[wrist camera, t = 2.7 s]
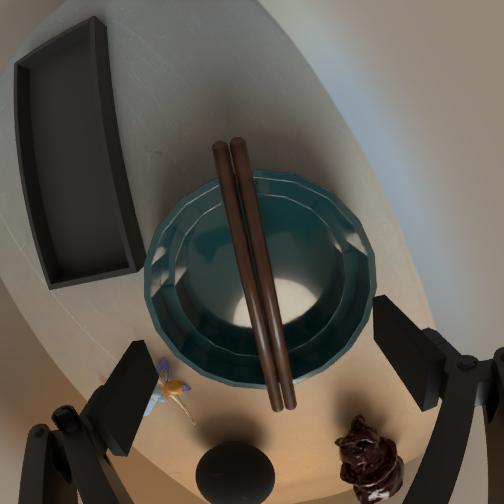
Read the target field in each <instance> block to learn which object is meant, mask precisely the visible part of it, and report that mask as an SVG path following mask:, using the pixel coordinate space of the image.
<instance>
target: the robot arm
mask: <svg viewBox="0 0 504 504" xmlns="http://www.w3.org/2000/svg"><path fill="white" fill-rule="evenodd" d="M372 303H373V329H374V340H375V342H376V343H377V345H378V346H379V348H380V349H381V350H382V352H383V353H384V355H385V356H386V358H387V359H388V361H389V362H390V364H391V365H392V367H393V368H394V370H395V371H396V373H397V374H398V376H399V377H400V379H401V380H402V382H403V383H404V385H405V386H406V388H407V389H408V391H409V392H410V394H411V395H412V397H413V398H414V400H415V402H416V403H417V405H418V406H419V408H420V409H421V411H422V412H424V411H426V410H429V409H431V408H433V407H436V406H437V404H438V399H439V397H440V398H441V399H442V404H441V408H440V411H439V414H438V417H437V421H436V424H435V427H434V430H433V433H432V435H431V438H430V441H429V444H428V446H427V449H426V452H425V454H424V457H423V459H422V462H421V464H420V467H419V469H418V472H417V474H416V476H415V478H414V480H413V483H412V485H411V487H410V489H409V491H408V493H407V495H406V497H405V499H404V501H403V503H402V504H448V502H449V500H450V497H451V494H452V492H453V489H454V486H455V483H456V480H457V477H458V474H459V471H460V467H461V464H462V460H463V457H464V453H465V450H466V446H467V441H468V437H469V433H470V428H471V423H472V418H473V413H474V408H475V407H477V406H482V408H483V416H484V424H485V433H486V444H487V457H488V504H504V347H502V348H499V349H498V350H496V352H495V353H494V357H493V359H489V360H485V361H479V360H478V359H477V358H475V357H474V356H470V355H461V354H460V353H459V352H458V351H457V350H456V349H455V348H454V347H453V346H452V345H451V344H450V343H449V342H447V340H446V339H445V338H443V337H442V336H441V335H440V334H439V333H438V332H437V331H435V330H433V329H431V328H426V329H423V330H420V329H419V328H418V327H417V326H416V325H415V324H414V323H413V322H412V321H411V320H410V319H409V318H408V317H407V316H406V315H405V314H404V313H403V312H402V311H401V310H400V309H399V308H398V307H397V306H396V305H395V304H394V303H393V302H392V301H391V300H390V299H389V298H388V297H387V296H386V295H385V294H384V295H381V296H377V297H373V298H372ZM158 379H159V375H158V373H157V371H156V368H155V366H154V364H153V361H152V359H151V356H150V354H149V352H148V349H147V347H146V344H145V342H144V340H139V341H132V343H131V344H130V346H129V347H128V349H127V350H126V352H125V354H124V355H123V357H122V358H121V360H120V361H119V363H118V364H117V366H116V367H115V369H114V370H113V372H112V374H111V375H110V377H109V378H108V380H107V381H106V383H105V385H101V386H100V387H99V388H98V389H96V390H95V391H94V393H93V394H92V396H91V398H90V399H89V401H88V403H87V404H86V405H85V407H84V409H83V410H82V412H81V413H80V415H78V414H77V412H76V410H75V409H74V407H73V406H70V405H65V406H61V407H60V408H58V409H56V410H55V411H54V412H53V414H52V420H53V422H54V423H55V425H56V426H57V427H58V429H59V430H54V431H51V430H50V429H49V427H48V426H47V425H46V424H38V425H35V426H33V427H32V429H31V430H30V431H29V434H28V438H27V443H26V449H25V454H24V460H23V467H22V474H21V482H20V491H19V503H18V504H78V496H77V489H78V491H79V494H80V497H81V499H82V502H83V504H134V502H133V501H132V499H131V497H130V496H129V494H128V492H127V491H126V489H125V487H124V485H123V484H122V482H121V480H120V478H119V476H118V474H117V473H116V471H115V469H114V467H113V465H112V463H111V461H110V459H109V457H108V456H107V454H106V451H107V449H108V448H109V449H110V451H111V452H112V454H113V455H115V456H125V457H127V456H128V453H129V451H130V448H131V446H132V443H133V441H134V438H135V436H136V433H137V430H138V428H139V425H140V423H141V421H142V418H143V416H144V413H145V411H146V408H147V406H148V403H149V401H150V398H151V396H152V394H153V391H154V389H155V386H156V384H157V382H158Z"/></svg>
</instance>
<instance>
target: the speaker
mask: <svg viewBox="0 0 504 504" xmlns="http://www.w3.org/2000/svg"><path fill="white" fill-rule="evenodd" d="M196 483H197V487H198V489H199V491H200V493H201V494H202V495H203V497H204V498H205V499H206V500H207V501H209V502H210V503H211V504H261V503H262V502H263V501H264V500H265V499H266V498H267V497H268V496H269V495H270V493H271V491H272V489H273V487H274V483H275V472H274V468H273V465H272V463H271V461H270V460H269V458H268V457H267V456H266V455H265V454H264V453H263V452H262V451H260V450H259V449H257V448H256V447H254V446H251V445H249V444H245V443H239V442H230V443H224V444H220V445H218V446H215V447H213V448H212V449H210V450H209V451H207V452H206V453H205V454H204V455H203V457H202V458H201V459H200V461H199V463H198V465H197V468H196Z"/></svg>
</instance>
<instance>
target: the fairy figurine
mask: <svg viewBox="0 0 504 504" xmlns="http://www.w3.org/2000/svg"><path fill="white" fill-rule="evenodd" d="M164 359H165V358H163V359H162V360H164ZM162 360H161V362H160V364H159V365H158V367H157V368H156V371H157V373H158V371H159V370H160V369H161V368H162V367H163V366H164V367H165V366H166V365H167V366H166V367H165V369H166V370H167V369H168V370H167V372H168V375H169V368H168V363H167V360H166V359H165V360H164V361H163V362H162ZM165 361H166V362H165ZM164 362H165V363H166V364H165V363H164ZM161 363H162V364H163V363H164V364H165V365H163V366H162V364H161ZM160 367H161V368H160ZM159 368H160V369H159ZM157 369H158V370H157ZM162 369H163V368H162ZM160 371H161V370H160ZM163 371H164V370H163ZM161 373H162V372H161ZM158 375H159V373H158ZM163 376H164V375H163ZM167 382H168V379H167ZM167 382H166V381H165V380H163V379H162V378H161V376H160V375H159V379H158V383H159V385H158V386H156V387H155V389H154V391H153V394H152V396H151V398H150V401H149V403H148V406H147V408H146V411H145V413H144V416H147V415H148V414H149V413H150V412H151V410H152V409H153V407H154V405H155V404H156V402H157V401H159V402H164V401H165V400H166V399H168V398H169V396H170V397H172V398H173V399H174V400H175V401H176V402H178V403H179V405H180V406H181V407H182V408H183V410H184V411H185V412H186V413H187V415H188V416H189V418H190V420H191V423H192V425H193V424H194V426H195V425H196V423H195V420H194V419H193V418H192V416H191V415H190V413H189V411H188V409H187V408H186V406H185V404H184V403H183V402H182V401H181V400H180V399H179V397H178V396H177V395H176V394H180V393H181V392H182V391H183V390H186V389H187V388H185V389H184V387H186V386H187V385H183V384H182V383H181V382H179V381H177V380H174V381H171V382H169V383H167ZM183 386H184V387H183ZM187 387H188V390H190V389H191V388H190V387H189V386H187ZM144 416H143V417H144Z"/></svg>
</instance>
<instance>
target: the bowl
mask: <svg viewBox="0 0 504 504" xmlns="http://www.w3.org/2000/svg"><path fill="white" fill-rule="evenodd" d="M252 174H253V179H254V184H255V189H256V194H257V198H258V203H259V208H260V213H261V218H262V223H263V228H264V233H265V238H266V243H267V248H268V253H269V258H270V263H271V268H272V273H273V278H274V283H275V289H276V294H277V299H278V304H279V309H280V315H281V320H282V325H283V331H284V336H285V341H286V347H287V352H288V358H289V363H290V368H291V374H292V379H293V384H296V383H299V382H301V381H304V380H306V379H308V378H310V377H312V376H314V375H316V374H318V373H321V372H323V371H325V370H326V369H328V368H329V367H330V366H331V365H332V364H333V363H335V362H336V361H337V360H338V359H339V358H340V357H342V356H343V355H344V354H345V353H346V352H347V351H348V350H349V349H350V348H351V347H352V346H353V344H354V343H355V341H356V340H357V338H358V336H359V335H360V333H361V332H362V330H363V328H364V327H365V325H366V324H367V322H368V320H369V316H370V313H371V309H372V305H373V303H372V298H373V297H375V293H376V289H377V282H376V268H375V256H374V252H373V249H372V247H371V245H370V242H369V240H368V238H367V236H366V233H365V231H364V229H363V227H362V224H361V222H360V221H359V219H358V218H357V217H356V216H355V215H354V214H353V213H352V212H351V211H350V209H349V208H348V207H347V206H346V205H345V204H344V203H343V202H342V201H341V200H340V199H339V198H338V197H337V196H336V195H335V194H334V193H333V192H331V191H329V190H327V189H325V188H323V187H321V186H319V185H317V184H315V183H313V182H311V181H309V180H307V179H305V178H303V177H301V176H299V175H296V174H290V173H282V172H274V171H266V170H258V169H257V170H252ZM234 176H235V181H236V185H237V190H238V195H239V199H240V204H241V209H242V213H243V218H244V223H245V228H246V232H247V237H248V242H249V246H250V251H251V256H252V260H253V265H254V270H255V274H256V279H257V284H258V288H259V293H260V298H261V302H262V307H263V312H264V316H265V321H266V326H267V330H268V335H269V340H270V344H271V349H272V354H273V358H274V363H275V368H276V372H277V377H278V382H279V386H280V387H281V385H280V381H279V376H278V371H277V367H276V362H275V357H274V352H273V348H272V343H271V338H270V334H269V329H268V324H267V319H266V315H265V310H264V305H263V301H262V296H261V291H260V286H259V282H258V277H257V272H256V268H255V263H254V258H253V253H252V249H251V244H250V239H249V235H248V230H247V225H246V221H245V216H244V211H243V206H242V202H241V197H240V192H239V188H238V183H237V178H236V173H235V174H234ZM144 263H145V264H144V297H145V301H146V304H147V307H148V310H149V313H150V316H151V319H152V321H153V324H154V327H155V329H156V331H157V332H158V334H159V335H160V337H161V338H162V339H163V341H164V342H165V343H166V345H167V346H168V347H169V348H170V350H171V351H172V352H173V354H174V355H175V356H176V357H177V358H179V359H180V360H181V361H183V362H184V363H185V364H187V365H188V366H189V367H191V368H192V369H193V370H195V371H196V372H198V373H199V374H200V375H202V376H205V377H207V378H210V379H213V380H215V381H218V382H221V383H223V384H226V385H229V386H233V387H242V388H253V389H267V387H266V383H265V379H264V375H263V371H262V367H261V363H260V359H259V354H258V350H257V346H256V342H255V338H254V334H253V329H252V325H251V321H250V317H249V313H248V308H247V304H246V300H245V295H244V291H243V287H242V282H241V278H240V274H239V269H238V265H237V261H236V256H235V252H234V247H233V243H232V239H231V234H230V230H229V225H228V221H227V216H226V212H225V207H224V202H223V198H222V193H221V189H220V184H219V179H218V177H217V178H214V179H213V180H211V181H209V182H207V183H206V184H204V185H203V186H201V187H199V188H198V189H196V190H194V191H193V192H191V193H189V194H188V195H186V196H185V197H183V198H181V200H179V201H178V203H177V204H176V205H175V206H174V208H173V209H172V210H171V211H170V212H169V214H168V215H167V216H166V217H165V219H164V220H163V221H162V222H161V224H160V225H159V226H158V227H157V229H156V231H155V234H154V236H153V239H152V242H151V245H150V248H149V251H148V253H147V256H146V259H145V262H144Z"/></svg>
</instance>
